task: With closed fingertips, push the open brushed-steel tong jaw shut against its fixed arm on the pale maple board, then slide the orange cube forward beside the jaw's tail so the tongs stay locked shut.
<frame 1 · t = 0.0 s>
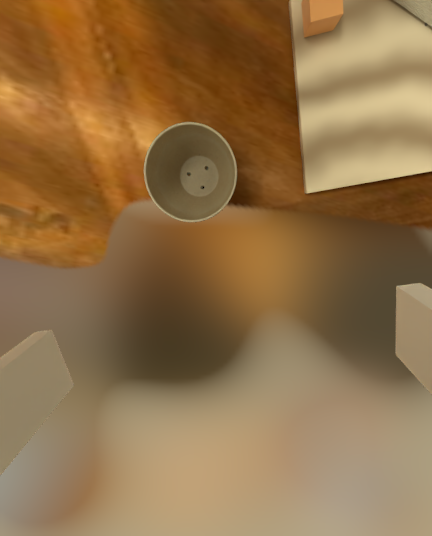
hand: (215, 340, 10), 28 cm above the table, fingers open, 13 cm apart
orange cube: (321, 8, 27), point 3 cm above the table, slide at 0.0 cm
flower pot: (199, 176, 36), on the table
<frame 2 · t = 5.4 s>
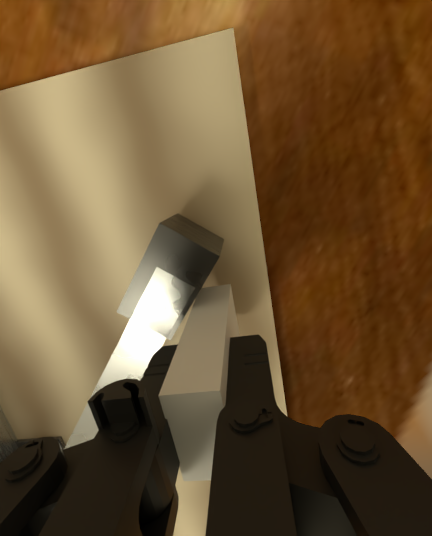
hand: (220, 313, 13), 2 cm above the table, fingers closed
board: (129, 403, 18), on the table
jaw: (81, 445, 15), point 3 cm above the table, hinge at -39.7°, touching gripper
tongs base: (44, 460, 18), resting on board
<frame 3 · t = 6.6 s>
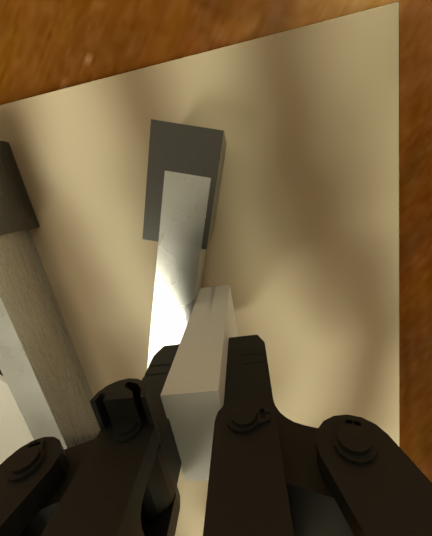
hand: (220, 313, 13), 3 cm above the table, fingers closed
board: (223, 396, 17), on the table
jaw: (161, 417, 14), point 3 cm above the table, hinge at -19.4°, touching gripper
tongs base: (133, 456, 18), resting on board
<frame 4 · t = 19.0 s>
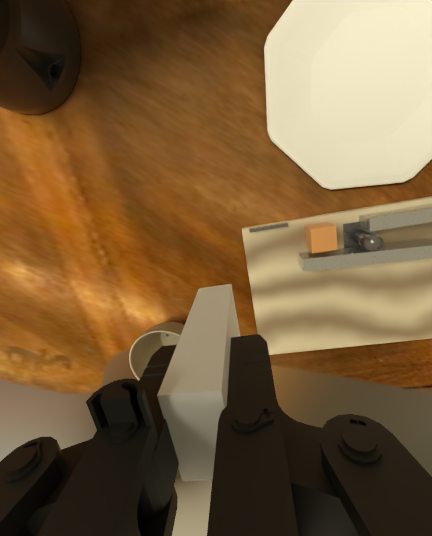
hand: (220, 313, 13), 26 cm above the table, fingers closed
board: (379, 276, 38), on the table
plate: (366, 81, 32), on the table
orange cube: (320, 237, 34), point 3 cm above the table, slide at 7.2 cm
flower pot: (176, 334, 44), on the table
jaw: (414, 248, 33), point 3 cm above the table, hinge at -2.3°
tongs base: (359, 236, 35), resting on board
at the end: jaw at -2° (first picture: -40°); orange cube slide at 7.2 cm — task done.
